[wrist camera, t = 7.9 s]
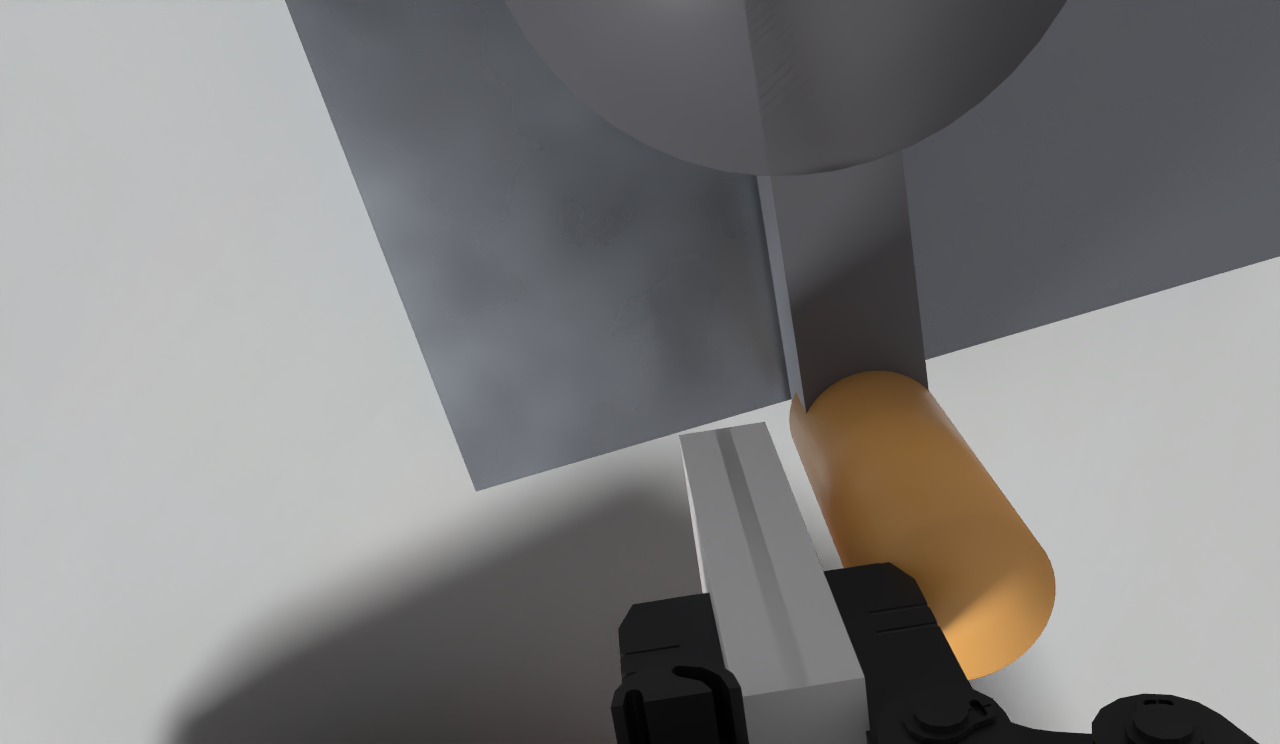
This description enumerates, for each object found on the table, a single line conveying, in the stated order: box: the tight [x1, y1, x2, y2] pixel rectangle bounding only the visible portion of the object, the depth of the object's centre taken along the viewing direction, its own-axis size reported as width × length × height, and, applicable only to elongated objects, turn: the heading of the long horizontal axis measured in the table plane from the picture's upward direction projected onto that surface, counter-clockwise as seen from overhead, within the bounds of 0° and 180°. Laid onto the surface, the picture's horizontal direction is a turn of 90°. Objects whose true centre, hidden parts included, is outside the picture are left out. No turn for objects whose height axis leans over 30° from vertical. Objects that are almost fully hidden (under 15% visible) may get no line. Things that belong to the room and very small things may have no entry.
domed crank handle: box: [504, 0, 1067, 680], centre depth 16 cm, size 15×9×7 cm, turn 11°
